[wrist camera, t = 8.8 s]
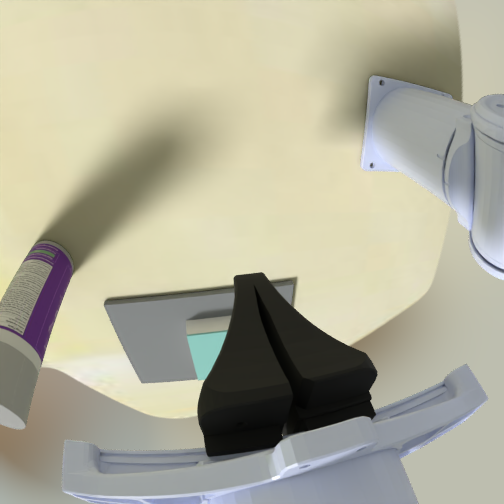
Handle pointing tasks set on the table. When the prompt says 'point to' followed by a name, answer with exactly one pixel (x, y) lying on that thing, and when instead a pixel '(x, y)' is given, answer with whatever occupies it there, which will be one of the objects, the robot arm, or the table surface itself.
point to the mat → (169, 329)
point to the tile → (206, 342)
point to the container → (29, 326)
